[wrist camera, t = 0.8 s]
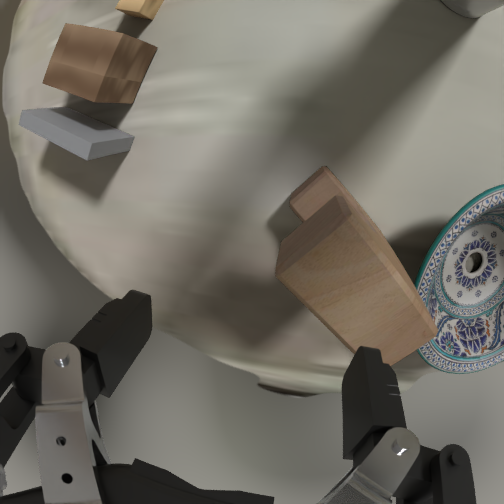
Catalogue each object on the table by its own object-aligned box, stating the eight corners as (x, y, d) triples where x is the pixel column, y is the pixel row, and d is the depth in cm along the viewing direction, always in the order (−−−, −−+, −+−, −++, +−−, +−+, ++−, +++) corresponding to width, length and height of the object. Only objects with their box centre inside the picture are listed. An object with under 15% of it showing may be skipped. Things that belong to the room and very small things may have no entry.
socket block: (102, 33, 29) (65, 23, 22) (157, 47, 29) (123, 33, 22) (81, 84, 32) (42, 83, 25) (132, 103, 33) (94, 102, 25)
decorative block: (288, 194, 35) (269, 273, 17) (325, 162, 32) (351, 207, 14) (346, 260, 37) (373, 380, 19) (382, 233, 34) (442, 337, 16)
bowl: (445, 356, 40) (462, 397, 31) (352, 265, 37) (363, 306, 28) (546, 253, 30) (579, 280, 21) (478, 128, 27) (522, 133, 18)
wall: (65, 106, 34) (22, 110, 26) (134, 136, 35) (91, 143, 27) (62, 119, 35) (18, 124, 27) (129, 150, 36) (87, 160, 27)
